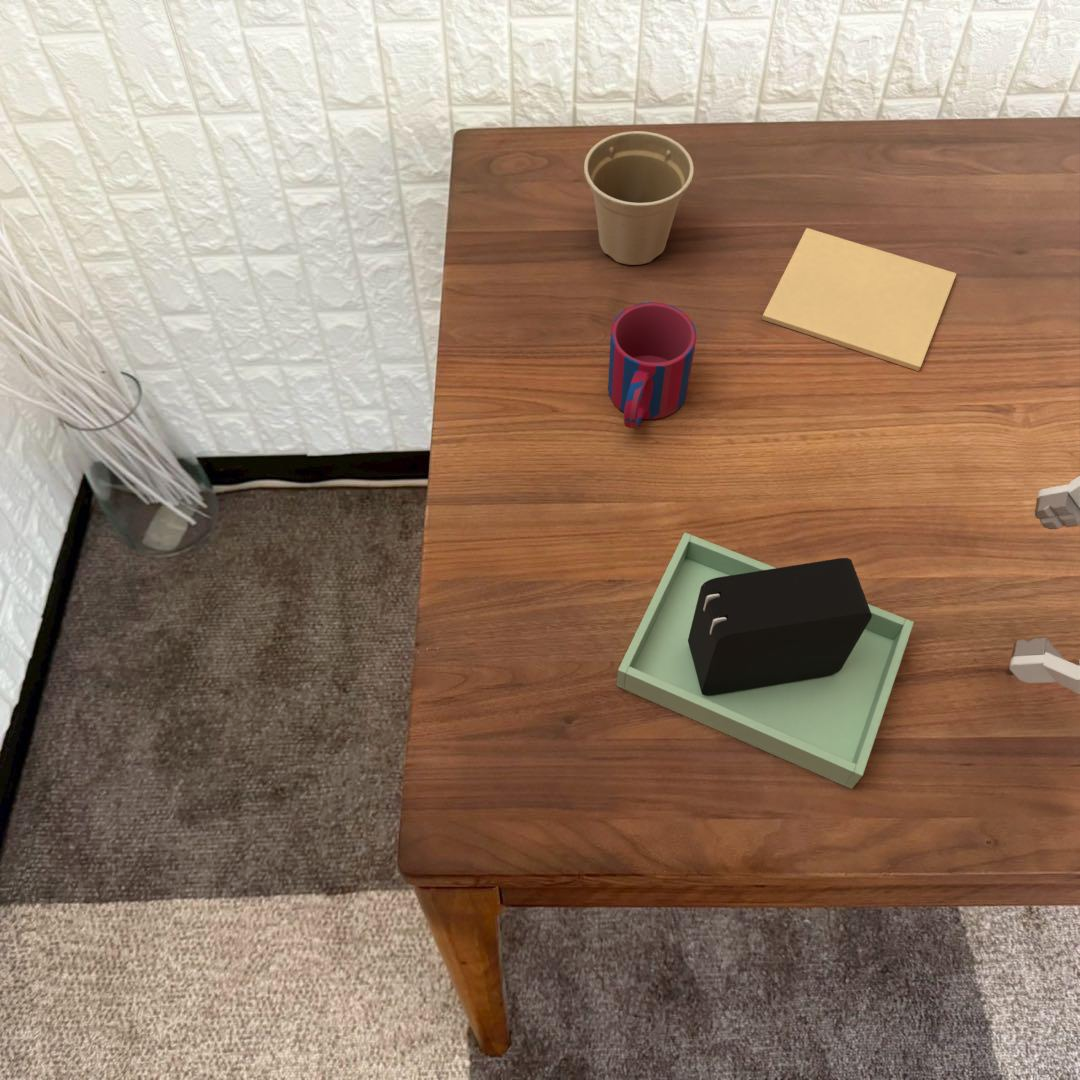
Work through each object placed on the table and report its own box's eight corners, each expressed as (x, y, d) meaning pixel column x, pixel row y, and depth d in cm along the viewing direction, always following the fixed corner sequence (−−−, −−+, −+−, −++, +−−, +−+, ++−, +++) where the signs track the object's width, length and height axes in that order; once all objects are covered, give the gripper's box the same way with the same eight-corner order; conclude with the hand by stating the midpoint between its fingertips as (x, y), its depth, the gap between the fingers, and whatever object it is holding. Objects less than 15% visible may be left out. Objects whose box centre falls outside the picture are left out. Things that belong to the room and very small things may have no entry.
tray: (902, 639, 73) (914, 621, 71) (852, 789, 68) (862, 776, 65) (680, 551, 77) (684, 531, 75) (615, 686, 72) (617, 669, 69)
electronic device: (838, 675, 71) (876, 612, 63) (700, 698, 71) (718, 637, 62) (820, 623, 73) (854, 554, 65) (686, 644, 73) (702, 578, 64)
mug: (698, 372, 86) (708, 316, 80) (656, 460, 82) (663, 408, 76) (625, 348, 88) (629, 292, 82) (580, 434, 83) (581, 380, 77)
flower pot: (701, 261, 93) (713, 185, 85) (608, 292, 91) (611, 216, 84) (656, 197, 97) (664, 119, 90) (566, 225, 96) (566, 148, 88)
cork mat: (954, 277, 91) (957, 273, 91) (918, 371, 86) (921, 367, 85) (805, 232, 94) (806, 227, 94) (761, 319, 89) (762, 315, 89)
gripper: (1339, 315, 45) (1027, 395, 56) (1345, 723, 36) (968, 727, 46) (1380, 404, 48) (1077, 464, 59) (1395, 804, 39) (1030, 790, 49)
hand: (1028, 583), depth 52 cm, fingers open, 8 cm apart
